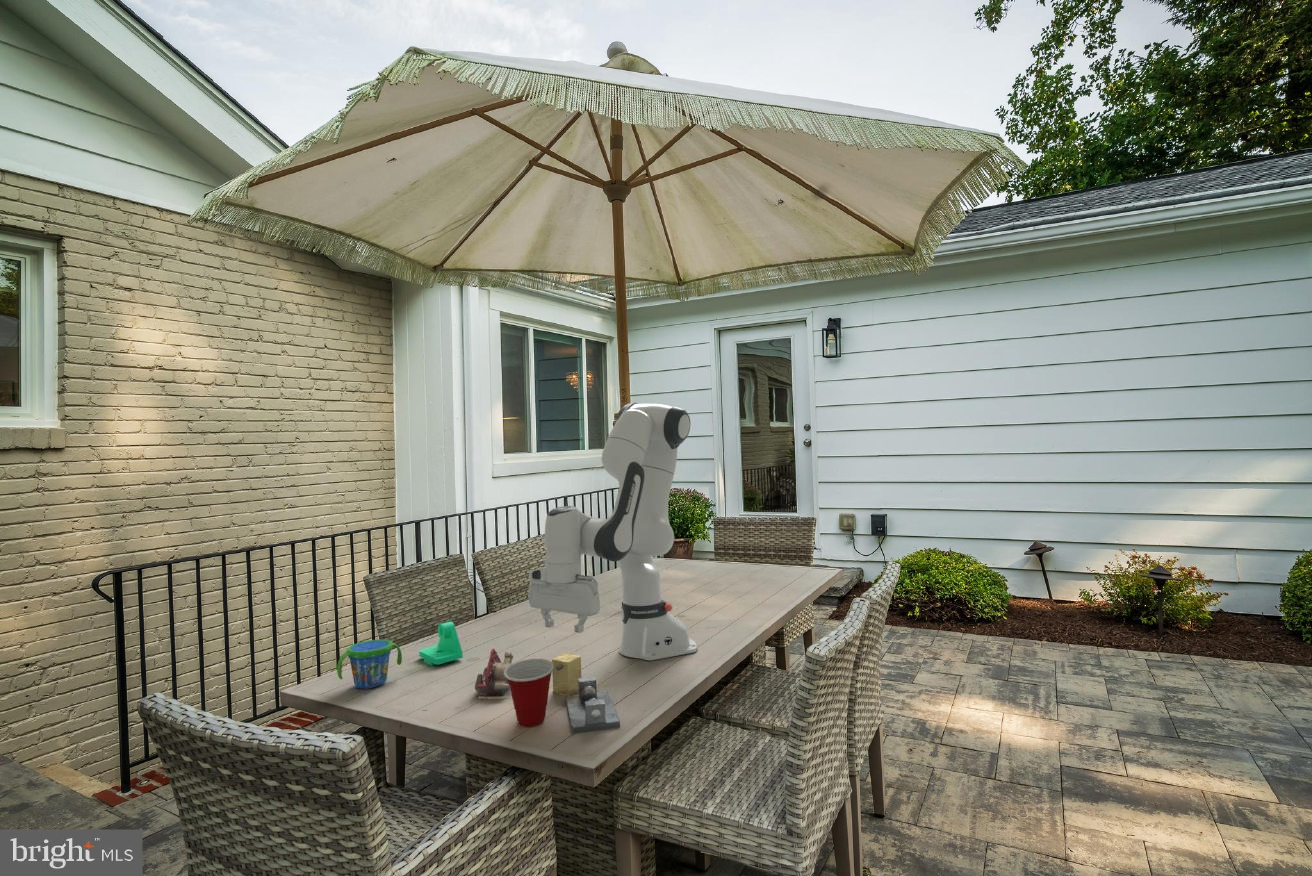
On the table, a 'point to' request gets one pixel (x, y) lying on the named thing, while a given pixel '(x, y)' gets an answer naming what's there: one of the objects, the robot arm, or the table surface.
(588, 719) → the shaft stand
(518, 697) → the plastic cup
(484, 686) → the brake caliper
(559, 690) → the block
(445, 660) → the camera mount
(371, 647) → the snack cup
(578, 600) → the robot arm
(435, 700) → the table surface
